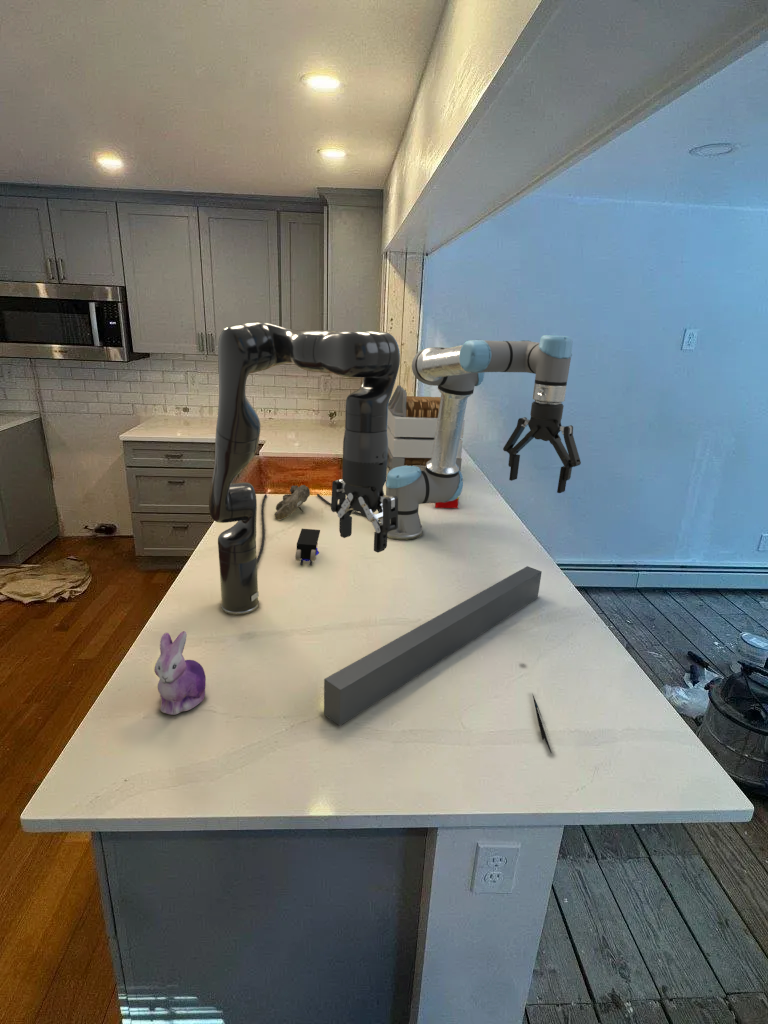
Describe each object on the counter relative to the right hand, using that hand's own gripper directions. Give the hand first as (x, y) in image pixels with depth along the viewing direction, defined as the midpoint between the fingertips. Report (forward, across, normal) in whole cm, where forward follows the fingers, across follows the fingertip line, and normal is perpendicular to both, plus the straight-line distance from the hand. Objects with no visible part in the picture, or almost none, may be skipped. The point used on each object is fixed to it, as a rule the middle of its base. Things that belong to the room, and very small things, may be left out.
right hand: (536, 485), depth 145 cm
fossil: (+34, -97, -2) cm, 103 cm away
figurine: (+34, -25, -86) cm, 96 cm away
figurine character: (+34, -60, -25) cm, 74 cm away
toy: (+34, -71, +56) cm, 97 cm away
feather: (+34, +25, -36) cm, 55 cm away
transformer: (+34, -102, +78) cm, 132 cm away
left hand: (-1, 0, -62) cm, 63 cm away
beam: (+34, 0, -31) cm, 46 cm away
